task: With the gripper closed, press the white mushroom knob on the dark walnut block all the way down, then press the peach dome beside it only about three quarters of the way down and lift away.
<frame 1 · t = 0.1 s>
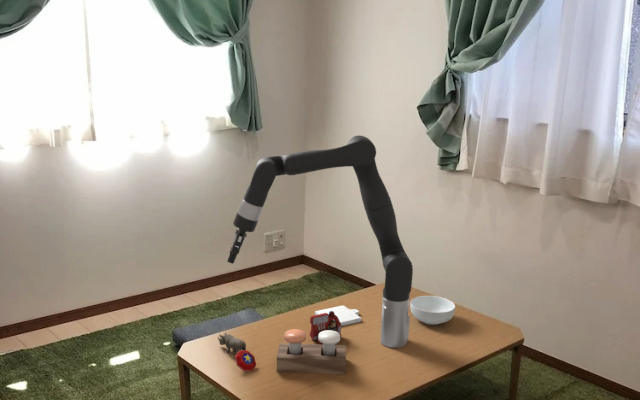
hand: (231, 258, 208), 31 cm above the table, fingers open, 8 cm apart
peach dome: (295, 343, 200), point 8 cm above the table, slide at 0.0 cm
cereal bowl: (431, 320, 237), on the table
button: (245, 368, 200), on the table
toy fire truck: (325, 340, 220), on the table
white mushroom knob: (329, 344, 200), point 8 cm above the table, slide at 0.0 cm
rhino figurine: (231, 352, 210), on the table
plunger block: (311, 365, 202), on the table
mounting plate: (337, 319, 237), on the table
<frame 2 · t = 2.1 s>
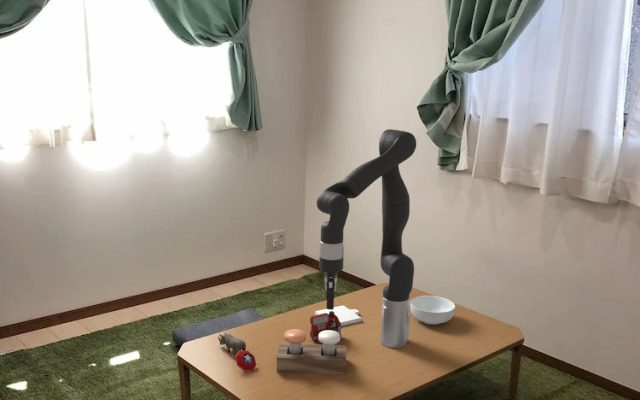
hand: (330, 304, 196), 22 cm above the table, fingers open, 5 cm apart
nothing on the table moved.
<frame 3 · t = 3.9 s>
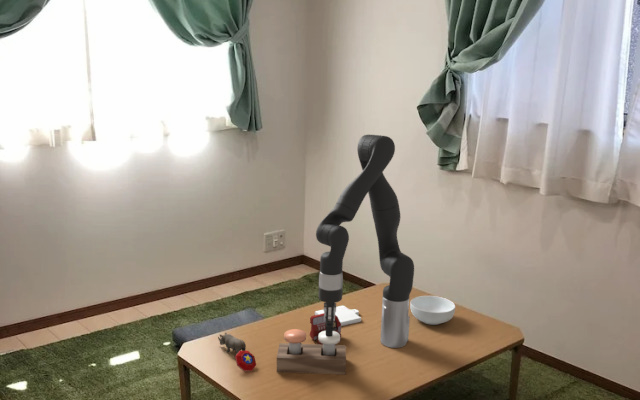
hand: (329, 335, 199), 11 cm above the table, fingers closed
white mushroom knob: (329, 344, 200), point 8 cm above the table, slide at 0.1 cm, touching gripper
everything else where it was.
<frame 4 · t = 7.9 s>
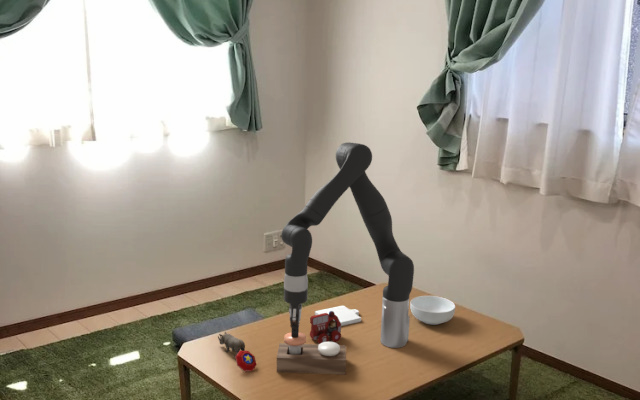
hand: (295, 336, 199), 10 cm above the table, fingers closed
peach dome: (295, 345, 200), point 7 cm above the table, slide at 0.9 cm, touching gripper
white mushroom knob: (328, 355, 201), point 4 cm above the table, slide at 4.1 cm
everything else where it was.
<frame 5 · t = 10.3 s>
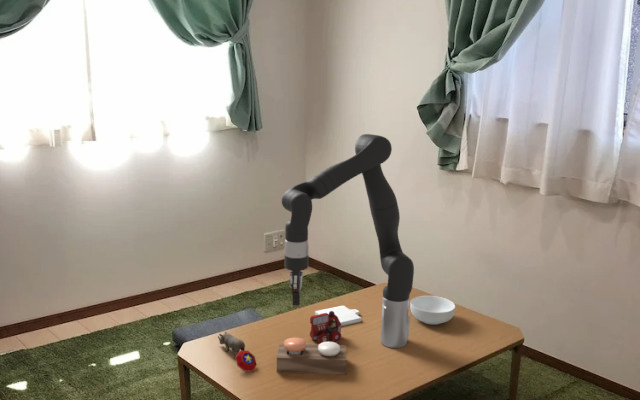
hand: (296, 304, 197), 21 cm above the table, fingers closed
peach dome: (295, 351, 201), point 5 cm above the table, slide at 3.0 cm
everything else where it was.
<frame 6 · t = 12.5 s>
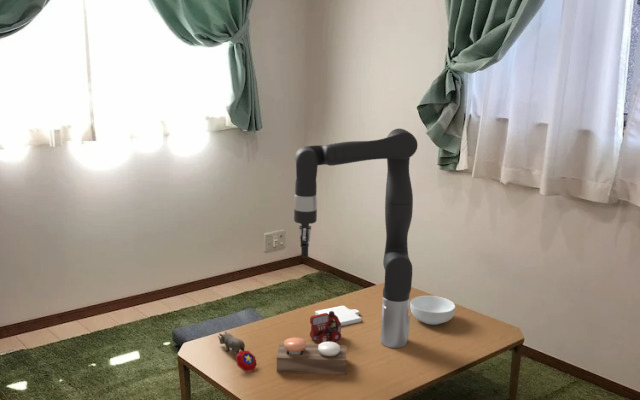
hand: (304, 257, 208), 32 cm above the table, fingers closed
nothing on the table moved.
at the end: white mushroom knob slide at 4.1 cm; peach dome slide at 3.0 cm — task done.
